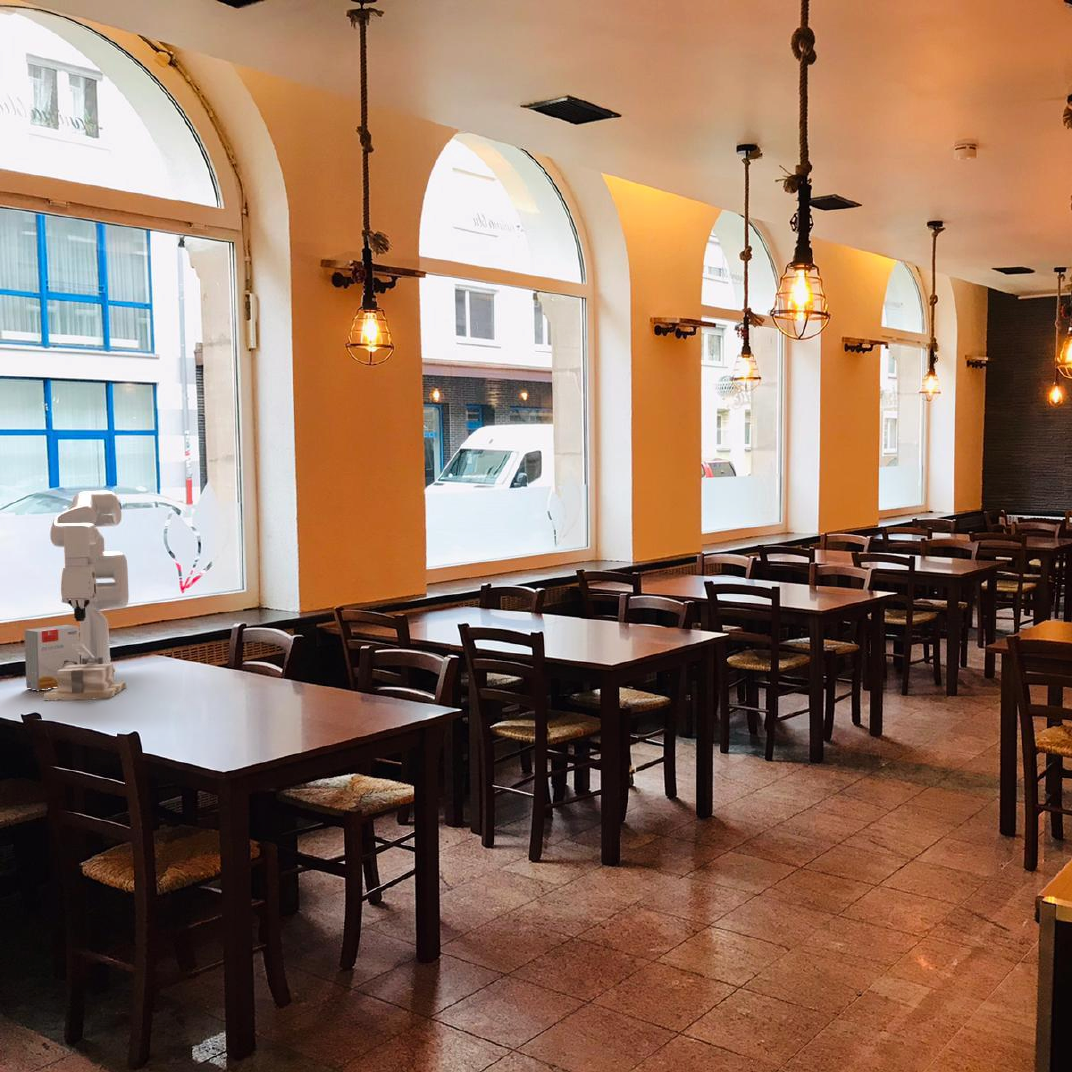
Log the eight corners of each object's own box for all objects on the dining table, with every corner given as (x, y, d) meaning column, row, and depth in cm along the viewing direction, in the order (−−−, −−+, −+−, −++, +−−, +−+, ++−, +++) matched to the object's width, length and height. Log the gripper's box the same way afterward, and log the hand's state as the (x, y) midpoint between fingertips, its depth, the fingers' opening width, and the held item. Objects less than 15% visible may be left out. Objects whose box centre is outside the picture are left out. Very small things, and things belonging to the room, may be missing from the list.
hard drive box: (38, 692, 368) (34, 631, 366) (25, 690, 372) (22, 629, 371) (82, 684, 380) (79, 625, 379) (69, 681, 385) (66, 623, 383)
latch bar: (87, 663, 370) (87, 659, 371) (98, 663, 371) (98, 659, 371) (71, 646, 356) (71, 643, 357) (82, 646, 357) (82, 642, 357)
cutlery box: (64, 689, 372) (62, 657, 371) (126, 687, 373) (124, 656, 372) (44, 700, 355) (42, 667, 354) (108, 698, 356) (107, 665, 355)
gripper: (105, 561, 363) (108, 618, 364) (58, 563, 362) (60, 620, 363) (97, 563, 355) (100, 621, 356) (49, 564, 355) (51, 623, 355)
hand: (80, 620), depth 359 cm, fingers closed
